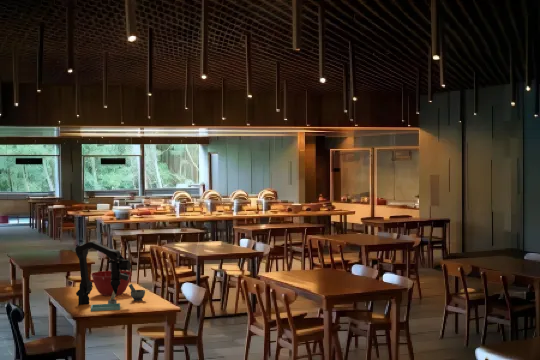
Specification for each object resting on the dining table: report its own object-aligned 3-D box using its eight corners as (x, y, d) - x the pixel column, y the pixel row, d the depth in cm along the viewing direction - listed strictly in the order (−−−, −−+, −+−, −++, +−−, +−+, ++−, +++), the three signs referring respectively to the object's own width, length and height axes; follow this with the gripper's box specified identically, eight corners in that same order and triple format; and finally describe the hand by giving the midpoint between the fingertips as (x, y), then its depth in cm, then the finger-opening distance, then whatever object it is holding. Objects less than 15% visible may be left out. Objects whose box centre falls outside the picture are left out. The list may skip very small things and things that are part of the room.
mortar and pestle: (143, 299, 488) (143, 281, 488) (146, 301, 479) (146, 283, 479) (127, 300, 483) (126, 283, 483) (130, 303, 475) (130, 285, 474)
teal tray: (90, 312, 446) (90, 308, 446) (91, 308, 458) (91, 304, 458) (120, 310, 450) (120, 306, 450) (120, 307, 461) (120, 303, 461)
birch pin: (109, 301, 463) (110, 287, 463) (109, 301, 465) (110, 287, 465) (117, 301, 464) (118, 287, 464) (117, 301, 466) (118, 287, 466)
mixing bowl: (137, 291, 521) (136, 270, 521) (125, 298, 493) (124, 276, 492) (99, 291, 524) (99, 270, 523) (85, 298, 495) (85, 276, 495)
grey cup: (108, 307, 461) (108, 301, 461) (108, 305, 466) (108, 299, 466) (116, 306, 462) (116, 300, 462) (116, 305, 467) (116, 299, 467)
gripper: (128, 271, 457) (128, 295, 457) (128, 267, 475) (128, 290, 475) (110, 272, 455) (110, 296, 455) (110, 268, 473) (111, 291, 473)
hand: (115, 293), depth 465 cm, fingers closed on birch pin, 2 cm apart
